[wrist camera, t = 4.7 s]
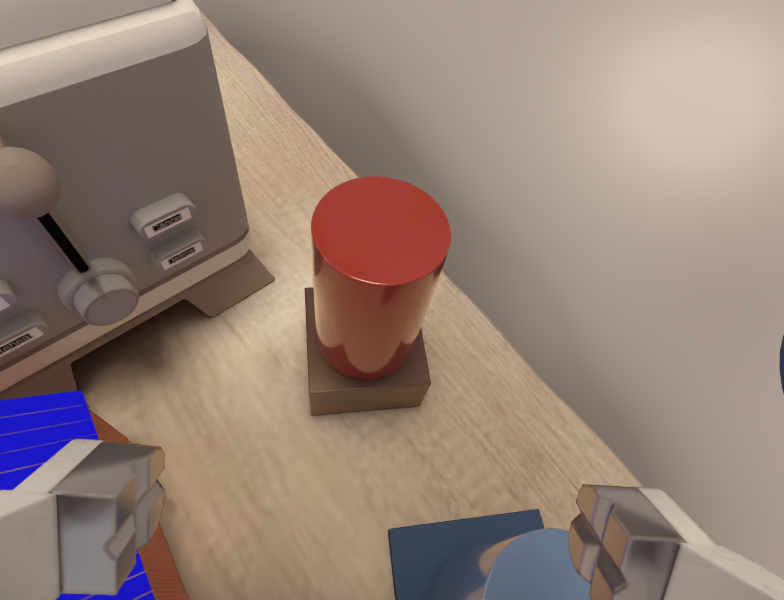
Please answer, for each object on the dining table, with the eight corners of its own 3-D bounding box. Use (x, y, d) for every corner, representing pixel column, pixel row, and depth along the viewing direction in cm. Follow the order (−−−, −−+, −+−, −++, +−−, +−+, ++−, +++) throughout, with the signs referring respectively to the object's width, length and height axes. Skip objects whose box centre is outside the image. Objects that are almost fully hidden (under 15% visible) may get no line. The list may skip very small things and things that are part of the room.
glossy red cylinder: (406, 289, 31) (438, 175, 22) (421, 376, 28) (464, 282, 19) (313, 293, 30) (308, 175, 21) (317, 384, 27) (314, 288, 18)
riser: (404, 313, 34) (413, 282, 31) (419, 406, 31) (431, 383, 27) (306, 318, 33) (304, 287, 30) (311, 415, 30) (309, 393, 26)
